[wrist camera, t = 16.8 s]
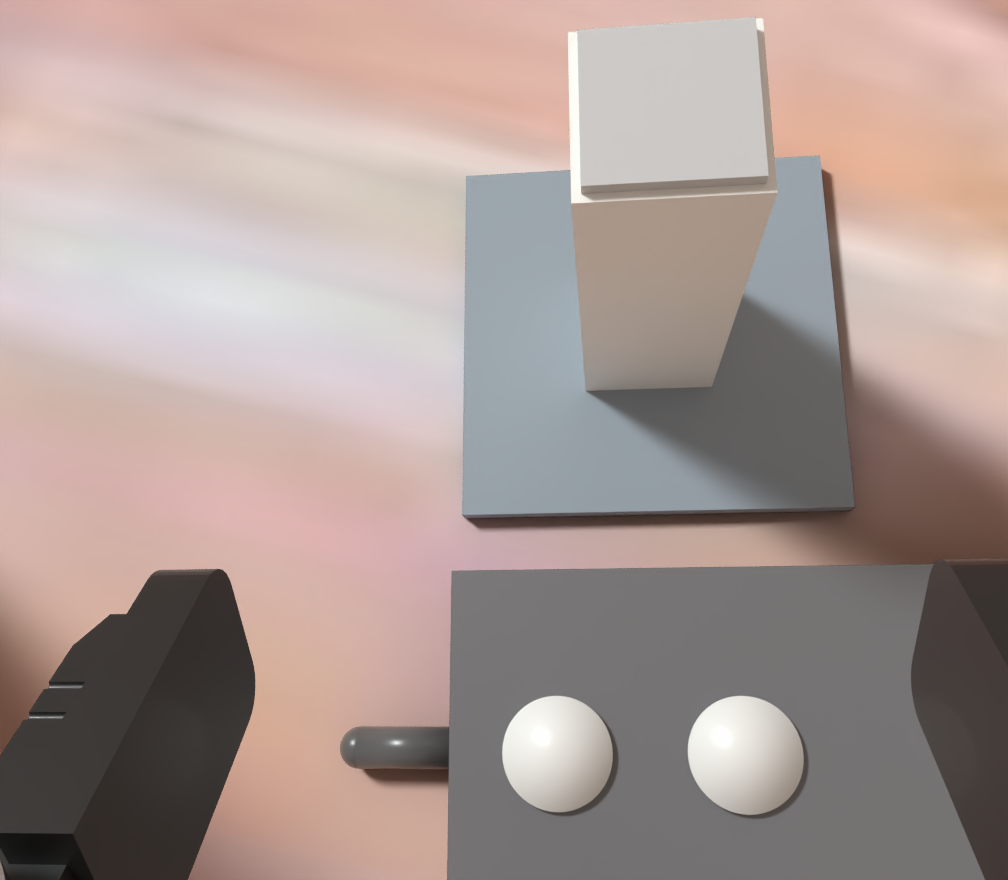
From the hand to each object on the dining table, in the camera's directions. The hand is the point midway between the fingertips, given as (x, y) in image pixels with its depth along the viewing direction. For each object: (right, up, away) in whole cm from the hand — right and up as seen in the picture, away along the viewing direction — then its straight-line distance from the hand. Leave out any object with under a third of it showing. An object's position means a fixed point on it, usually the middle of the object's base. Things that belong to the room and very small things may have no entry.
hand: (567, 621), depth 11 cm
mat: (+4, +6, +20) cm, 21 cm away
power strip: (+8, -7, +16) cm, 19 cm away
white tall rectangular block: (+4, +6, +20) cm, 21 cm away
